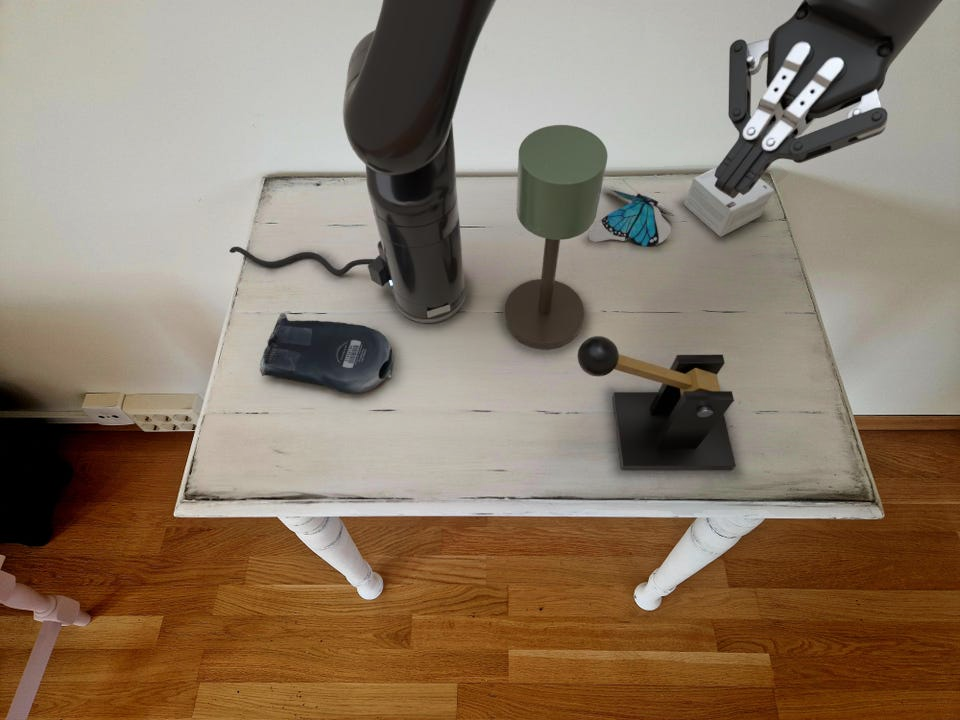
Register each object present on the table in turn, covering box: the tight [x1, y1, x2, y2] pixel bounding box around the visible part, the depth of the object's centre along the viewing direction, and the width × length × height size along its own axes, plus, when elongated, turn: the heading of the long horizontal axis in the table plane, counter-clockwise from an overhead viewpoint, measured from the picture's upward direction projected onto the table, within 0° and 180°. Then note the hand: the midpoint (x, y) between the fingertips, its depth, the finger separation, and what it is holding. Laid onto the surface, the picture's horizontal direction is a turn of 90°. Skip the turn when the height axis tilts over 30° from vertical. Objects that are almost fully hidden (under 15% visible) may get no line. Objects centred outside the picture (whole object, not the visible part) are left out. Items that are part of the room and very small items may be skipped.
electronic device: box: [259, 312, 394, 395], centre depth 69 cm, size 9×6×15 cm
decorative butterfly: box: [587, 178, 675, 248], centre depth 79 cm, size 10×6×10 cm
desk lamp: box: [504, 124, 609, 351], centre depth 62 cm, size 10×10×26 cm
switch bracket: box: [612, 354, 737, 471], centre depth 59 cm, size 12×9×13 cm
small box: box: [683, 165, 775, 238], centre depth 80 cm, size 8×8×5 cm
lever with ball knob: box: [577, 335, 721, 396], centre depth 53 cm, size 15×4×4 cm, turn 89°
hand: (724, 192), depth 45 cm, fingers closed
